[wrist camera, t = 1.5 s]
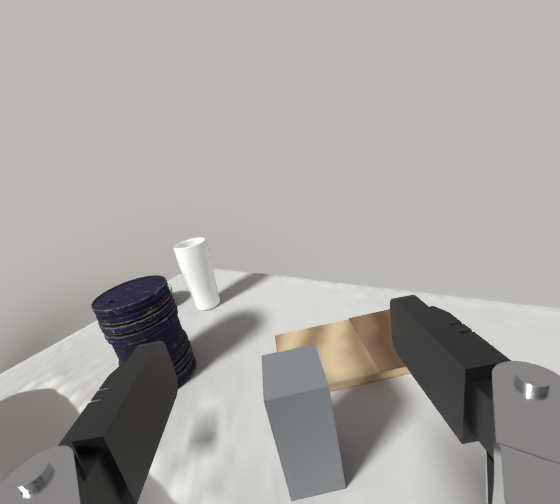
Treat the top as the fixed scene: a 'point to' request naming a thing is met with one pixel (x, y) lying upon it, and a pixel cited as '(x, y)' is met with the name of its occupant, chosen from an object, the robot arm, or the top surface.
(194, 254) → the drinking glass
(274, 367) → the tall grey rectangular prism
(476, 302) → the top surface
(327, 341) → the board
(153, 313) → the storage jar
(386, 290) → the top surface
